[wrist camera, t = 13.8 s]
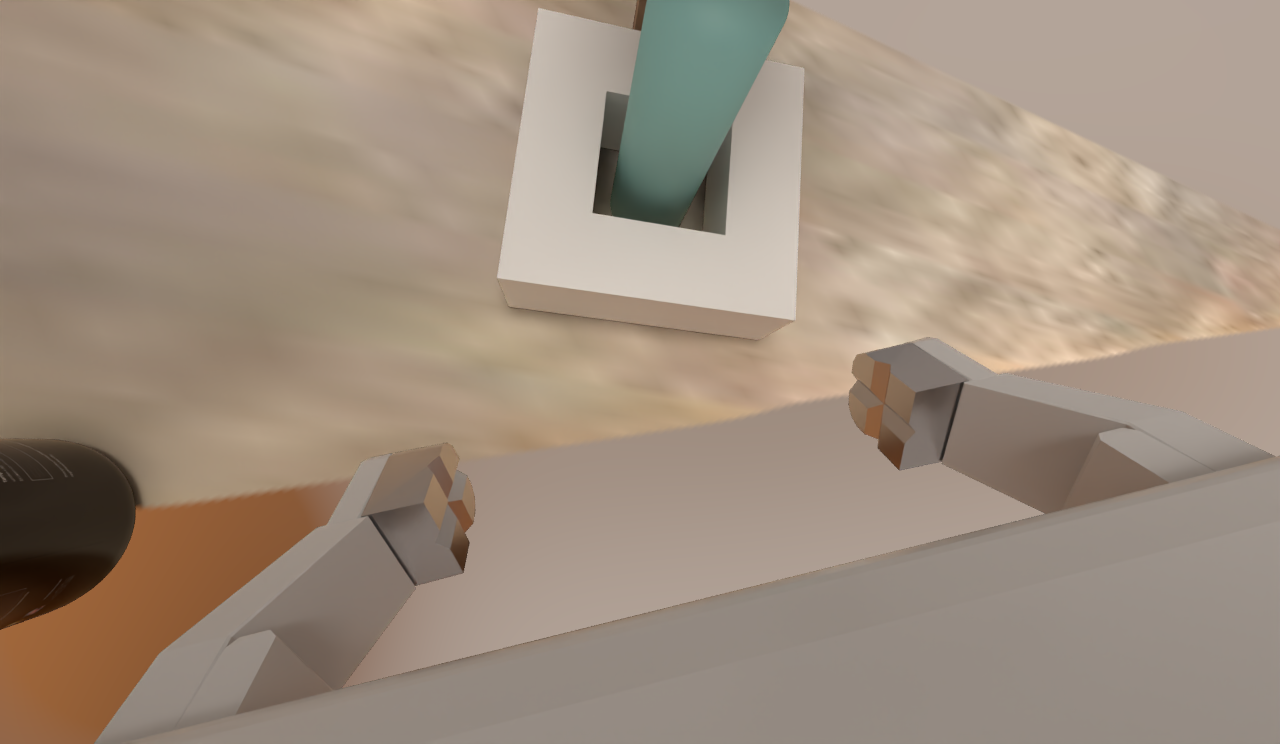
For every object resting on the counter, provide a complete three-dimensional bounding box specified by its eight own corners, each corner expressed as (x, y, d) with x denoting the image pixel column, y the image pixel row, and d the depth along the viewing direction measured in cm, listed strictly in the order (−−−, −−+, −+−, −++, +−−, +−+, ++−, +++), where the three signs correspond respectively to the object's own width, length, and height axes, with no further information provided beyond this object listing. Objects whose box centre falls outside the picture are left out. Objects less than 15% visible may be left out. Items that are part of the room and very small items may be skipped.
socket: (509, 306, 22) (497, 278, 18) (542, 77, 25) (538, 7, 21) (758, 340, 24) (795, 320, 20) (769, 123, 26) (804, 68, 22)
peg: (606, 235, 24) (645, 32, 12) (614, 165, 24) (658, -89, 13) (680, 246, 24) (786, 64, 13) (686, 178, 25) (791, -55, 13)
